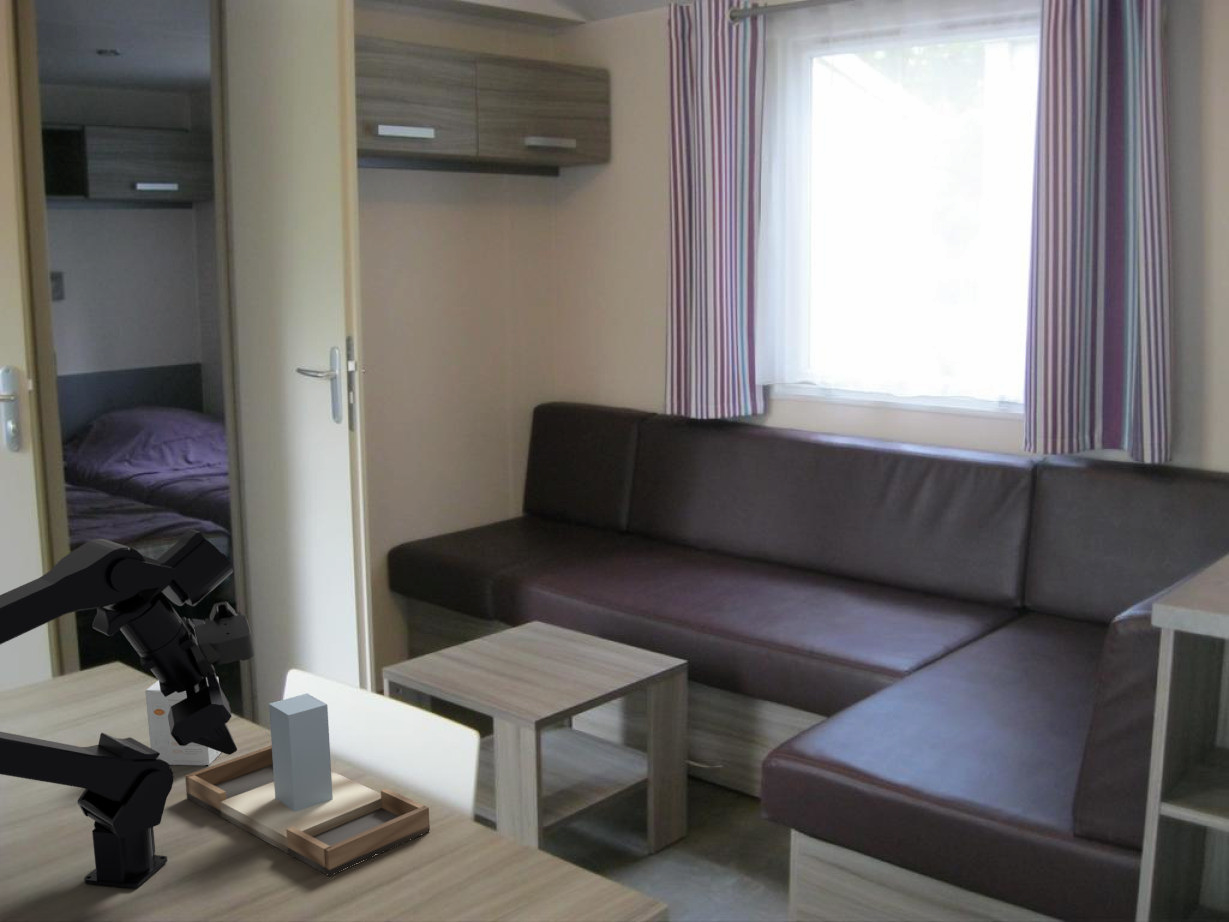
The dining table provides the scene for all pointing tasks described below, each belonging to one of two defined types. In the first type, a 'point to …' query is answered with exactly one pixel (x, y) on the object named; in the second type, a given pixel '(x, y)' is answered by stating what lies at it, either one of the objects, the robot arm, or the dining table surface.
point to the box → (308, 813)
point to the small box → (162, 737)
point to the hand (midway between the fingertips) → (227, 728)
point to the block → (301, 751)
